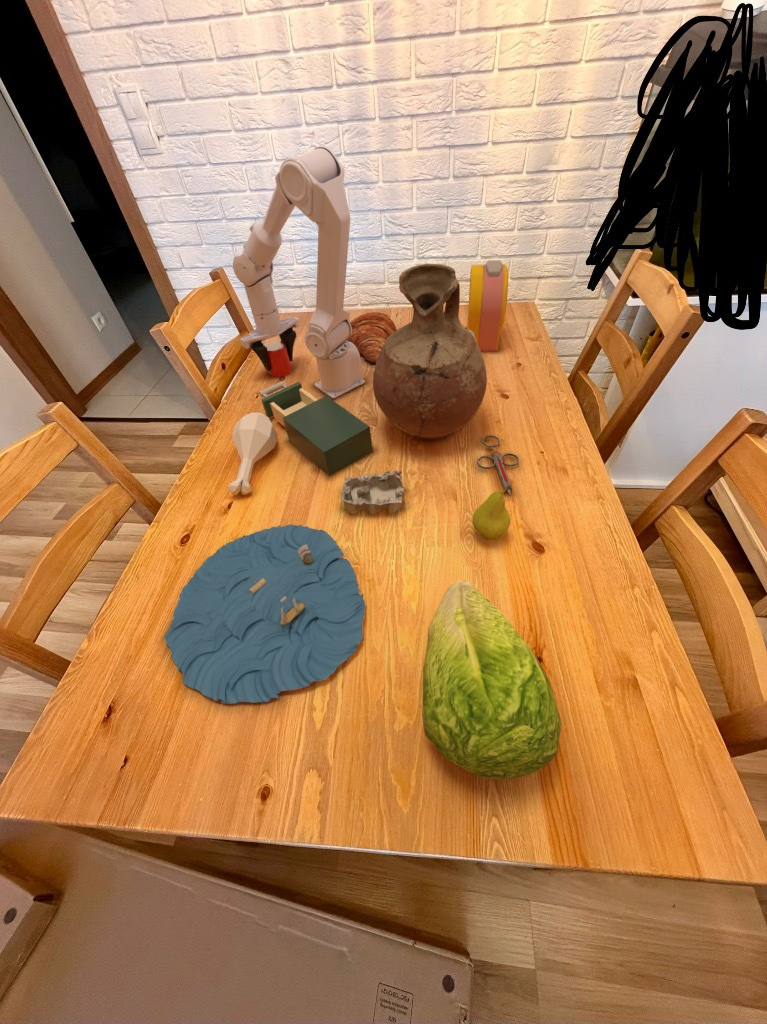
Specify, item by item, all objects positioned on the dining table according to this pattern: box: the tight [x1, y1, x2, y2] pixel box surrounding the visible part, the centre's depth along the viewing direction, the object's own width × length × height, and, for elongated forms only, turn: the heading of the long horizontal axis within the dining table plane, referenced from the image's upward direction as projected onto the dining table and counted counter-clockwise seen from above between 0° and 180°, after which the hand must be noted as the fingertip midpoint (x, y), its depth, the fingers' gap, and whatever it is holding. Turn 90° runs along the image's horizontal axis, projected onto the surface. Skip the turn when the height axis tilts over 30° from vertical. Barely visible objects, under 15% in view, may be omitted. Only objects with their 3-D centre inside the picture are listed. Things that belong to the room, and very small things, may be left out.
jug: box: [372, 263, 488, 440], centre depth 84 cm, size 22×22×30 cm
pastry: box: [348, 311, 397, 364], centre depth 117 cm, size 17×15×8 cm
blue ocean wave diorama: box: [164, 524, 366, 704], centre depth 67 cm, size 30×30×5 cm
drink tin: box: [263, 340, 293, 378], centre depth 112 cm, size 6×6×7 cm
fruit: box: [471, 484, 512, 541], centre depth 71 cm, size 6×6×12 cm
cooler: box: [283, 395, 374, 477], centre depth 91 cm, size 15×11×6 cm
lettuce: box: [421, 579, 563, 781], centre depth 55 cm, size 15×24×14 cm, turn 3°
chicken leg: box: [227, 411, 278, 496], centre depth 88 cm, size 8×18×8 cm, turn 175°
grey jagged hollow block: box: [340, 470, 405, 515], centre depth 81 cm, size 11×8×4 cm
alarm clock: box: [466, 259, 509, 352], centre depth 111 cm, size 15×8×18 cm, turn 173°
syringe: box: [476, 434, 520, 500], centre depth 85 cm, size 8×18×2 cm, turn 4°
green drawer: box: [258, 380, 319, 428], centre depth 98 cm, size 18×9×4 cm, turn 40°
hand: (279, 364), depth 113 cm, fingers closed on drink tin, 5 cm apart
